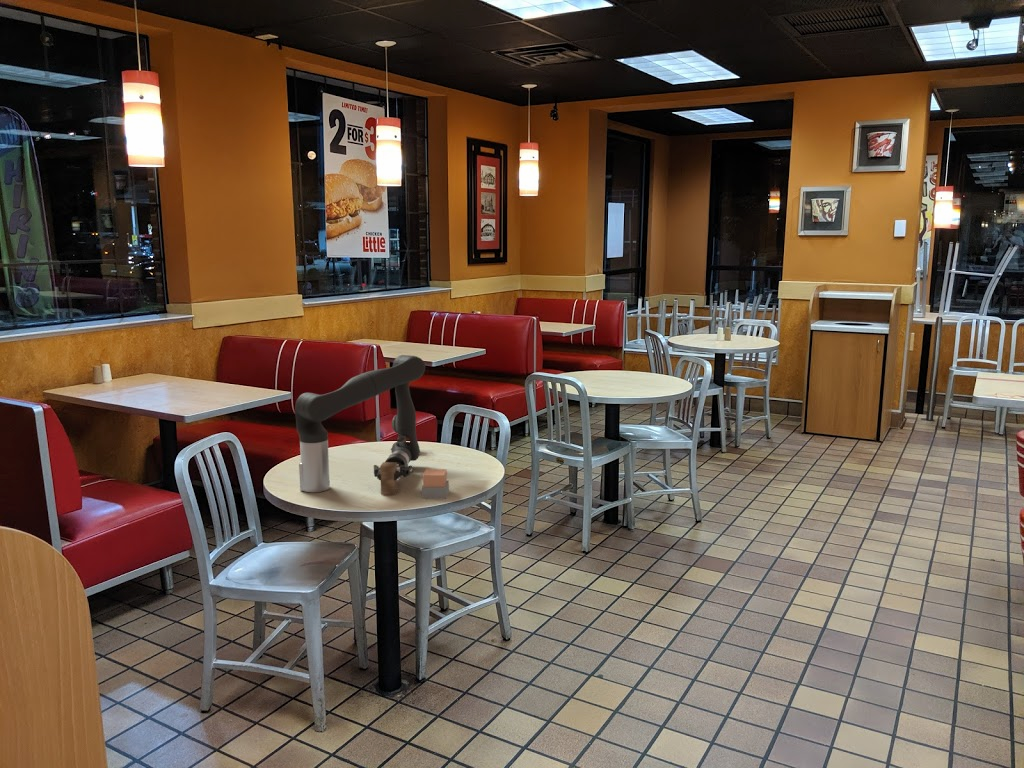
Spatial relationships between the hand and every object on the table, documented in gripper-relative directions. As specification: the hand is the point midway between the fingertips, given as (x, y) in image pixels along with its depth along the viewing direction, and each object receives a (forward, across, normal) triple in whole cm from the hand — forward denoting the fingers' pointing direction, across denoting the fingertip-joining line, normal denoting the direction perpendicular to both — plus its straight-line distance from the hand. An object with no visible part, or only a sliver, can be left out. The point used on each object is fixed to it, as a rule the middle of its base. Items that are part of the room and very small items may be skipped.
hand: (387, 477), depth 257 cm
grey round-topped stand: (-58, -6, +6) cm, 58 cm away
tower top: (-2, +16, +3) cm, 16 cm away
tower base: (-2, +16, +7) cm, 17 cm away
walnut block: (-3, 0, +6) cm, 7 cm away
